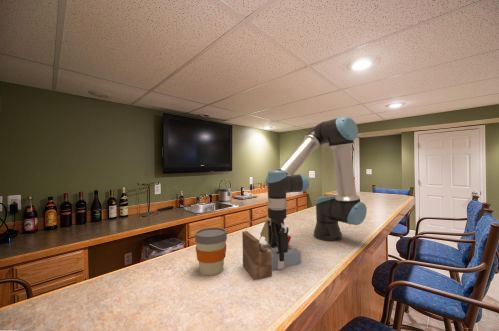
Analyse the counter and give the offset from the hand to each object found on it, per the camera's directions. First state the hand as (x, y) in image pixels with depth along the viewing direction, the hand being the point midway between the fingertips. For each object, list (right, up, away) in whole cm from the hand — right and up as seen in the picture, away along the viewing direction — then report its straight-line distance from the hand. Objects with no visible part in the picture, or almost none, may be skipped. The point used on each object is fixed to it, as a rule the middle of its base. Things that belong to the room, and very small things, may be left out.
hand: (277, 265), depth 85 cm
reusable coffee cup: (-26, -1, -2) cm, 27 cm away
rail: (0, 0, 0) cm, 0 cm away
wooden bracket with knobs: (-8, 0, -3) cm, 8 cm away
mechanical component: (+4, -1, +21) cm, 21 cm away
